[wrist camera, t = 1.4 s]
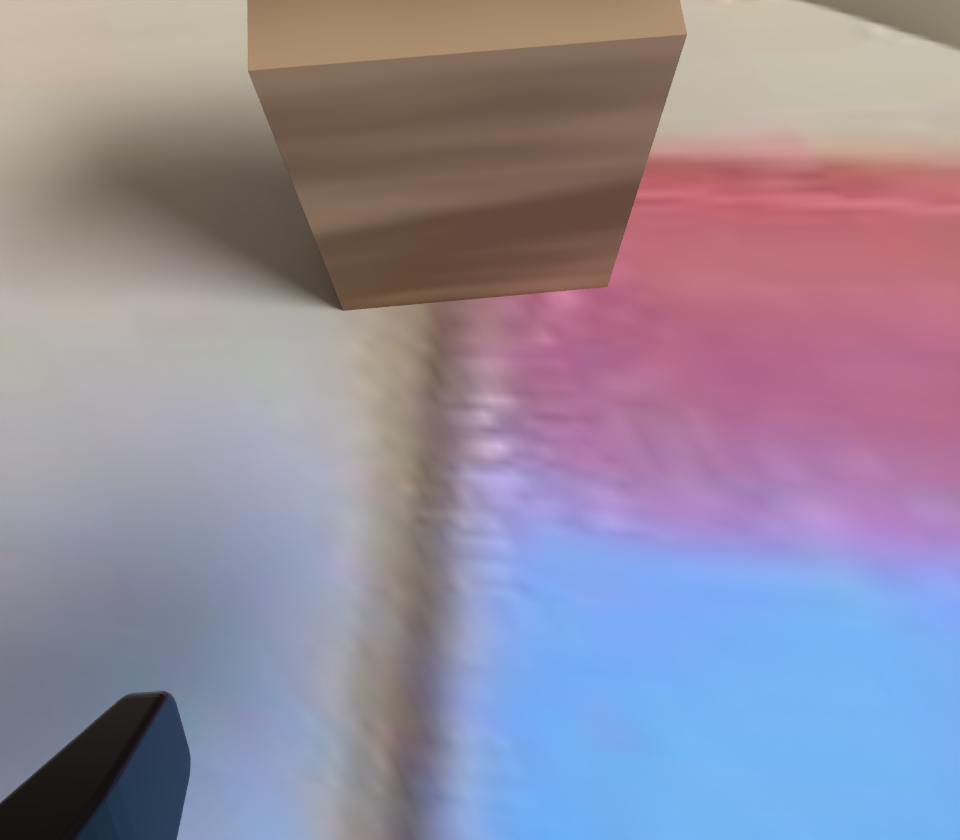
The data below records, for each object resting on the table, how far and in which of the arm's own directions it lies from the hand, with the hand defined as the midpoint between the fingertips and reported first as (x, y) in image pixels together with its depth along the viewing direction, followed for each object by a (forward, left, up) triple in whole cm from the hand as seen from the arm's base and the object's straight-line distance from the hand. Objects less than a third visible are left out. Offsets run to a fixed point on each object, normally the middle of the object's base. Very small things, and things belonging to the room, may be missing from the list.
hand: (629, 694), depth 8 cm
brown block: (+8, +10, -13) cm, 18 cm away
